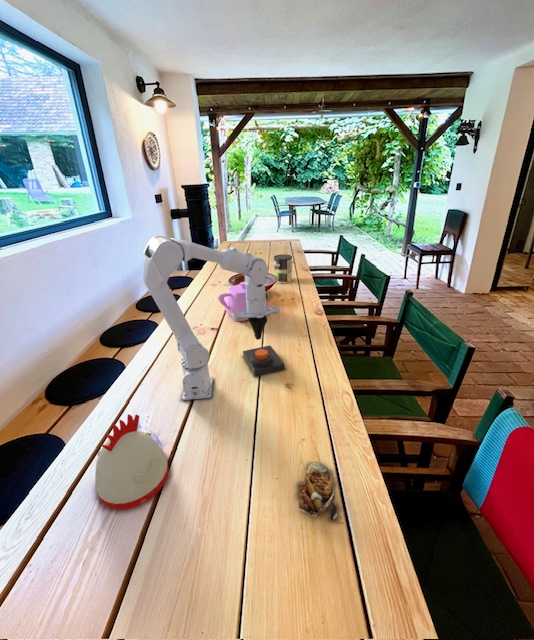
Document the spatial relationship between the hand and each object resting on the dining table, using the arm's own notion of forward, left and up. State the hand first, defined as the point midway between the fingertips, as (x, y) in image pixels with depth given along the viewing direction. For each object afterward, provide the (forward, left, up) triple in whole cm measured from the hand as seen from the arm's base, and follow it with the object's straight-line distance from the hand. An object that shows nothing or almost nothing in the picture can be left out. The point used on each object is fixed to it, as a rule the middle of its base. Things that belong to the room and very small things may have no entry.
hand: (257, 338), depth 100 cm
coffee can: (+89, -19, -10) cm, 92 cm away
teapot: (+42, +3, -10) cm, 43 cm away
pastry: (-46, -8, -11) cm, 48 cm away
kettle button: (0, -1, -7) cm, 7 cm away
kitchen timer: (-39, +29, -10) cm, 50 cm away
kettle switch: (+2, -1, -10) cm, 11 cm away
